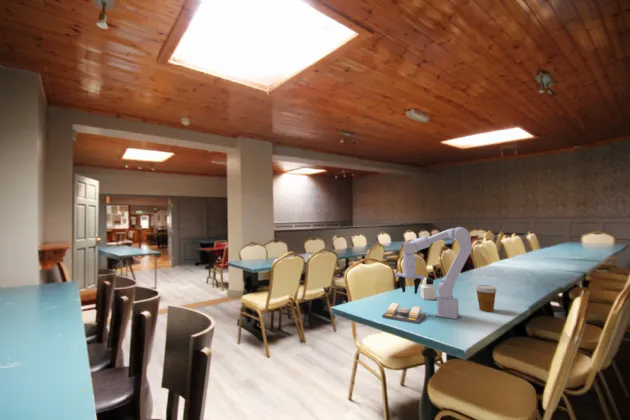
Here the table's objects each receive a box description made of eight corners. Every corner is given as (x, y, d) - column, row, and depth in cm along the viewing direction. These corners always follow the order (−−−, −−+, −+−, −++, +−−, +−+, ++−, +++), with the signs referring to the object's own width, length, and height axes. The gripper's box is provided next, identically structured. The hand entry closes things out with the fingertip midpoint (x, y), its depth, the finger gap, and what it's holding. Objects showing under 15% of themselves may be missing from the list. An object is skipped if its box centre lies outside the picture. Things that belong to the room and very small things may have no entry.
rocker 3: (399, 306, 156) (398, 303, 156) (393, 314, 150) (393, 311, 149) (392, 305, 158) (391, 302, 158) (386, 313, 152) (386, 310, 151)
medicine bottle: (432, 296, 187) (432, 276, 187) (436, 299, 180) (435, 279, 180) (420, 296, 187) (420, 276, 188) (423, 299, 180) (423, 279, 181)
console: (425, 315, 151) (425, 311, 151) (418, 323, 141) (417, 319, 141) (391, 310, 161) (391, 306, 161) (382, 317, 150) (382, 313, 150)
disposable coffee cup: (499, 309, 159) (498, 286, 159) (494, 314, 152) (493, 289, 152) (479, 306, 165) (478, 283, 166) (473, 310, 159) (472, 287, 159)
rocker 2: (409, 312, 153) (410, 308, 153) (404, 312, 146) (405, 308, 147) (402, 311, 155) (402, 307, 155) (397, 311, 148) (397, 307, 149)
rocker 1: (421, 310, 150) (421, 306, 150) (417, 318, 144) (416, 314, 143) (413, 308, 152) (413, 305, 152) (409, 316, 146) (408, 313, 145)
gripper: (425, 265, 157) (426, 292, 157) (397, 263, 165) (398, 289, 165) (422, 267, 151) (422, 295, 151) (393, 265, 159) (393, 292, 159)
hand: (409, 292), depth 158 cm, fingers open, 5 cm apart
